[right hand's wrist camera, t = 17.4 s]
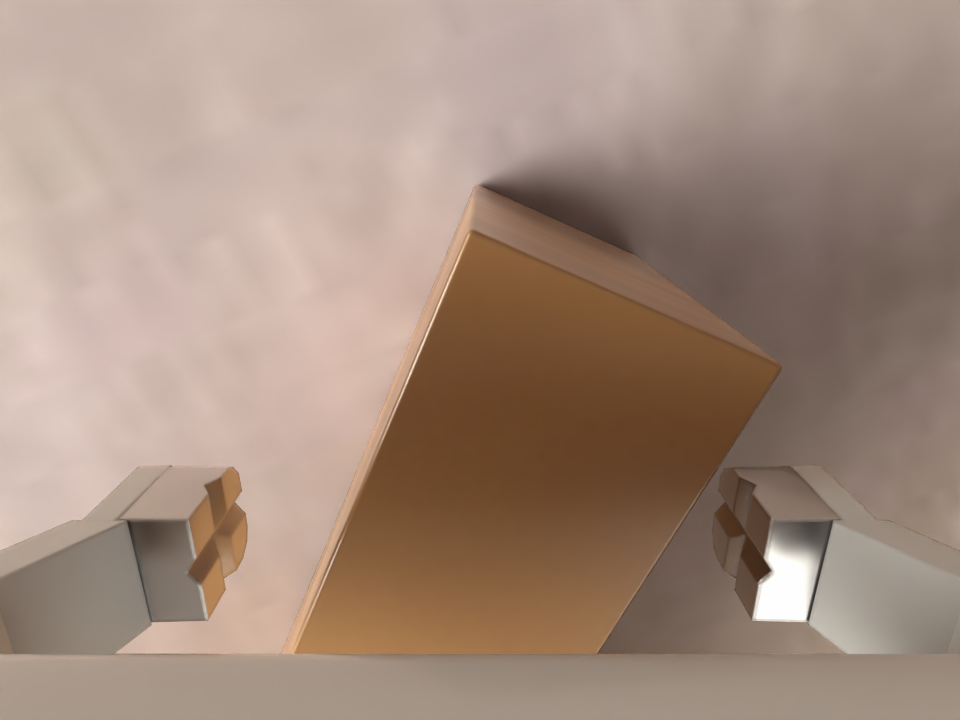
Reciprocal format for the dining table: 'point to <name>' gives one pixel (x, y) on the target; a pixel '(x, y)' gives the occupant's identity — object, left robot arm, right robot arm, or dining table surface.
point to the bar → (529, 449)
